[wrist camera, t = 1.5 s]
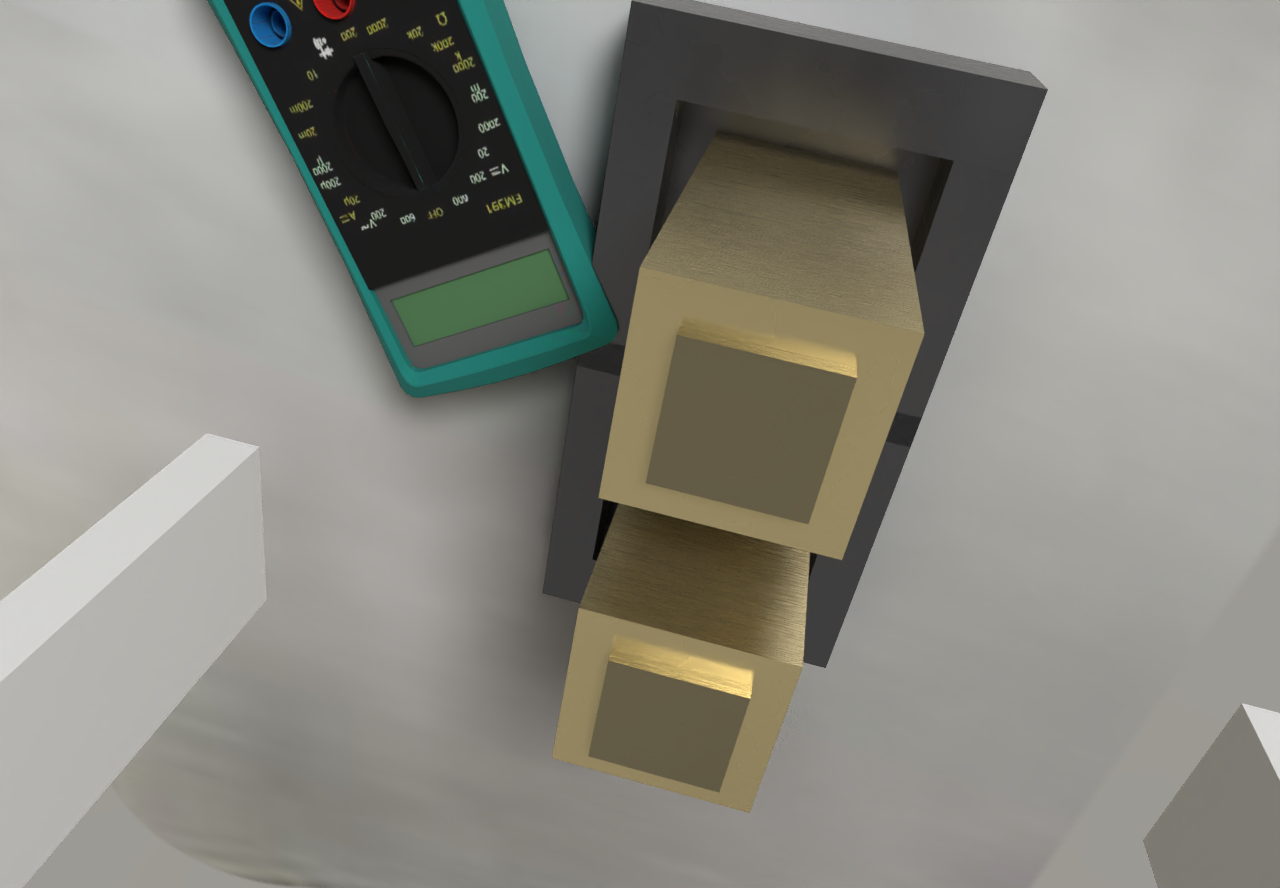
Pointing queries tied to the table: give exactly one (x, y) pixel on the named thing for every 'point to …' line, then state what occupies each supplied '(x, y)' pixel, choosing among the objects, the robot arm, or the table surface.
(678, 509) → the tan rectangular block
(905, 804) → the table surface
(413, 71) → the digital multimeter
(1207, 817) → the robot arm
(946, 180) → the dark grey block holder
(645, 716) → the gold rectangular block
